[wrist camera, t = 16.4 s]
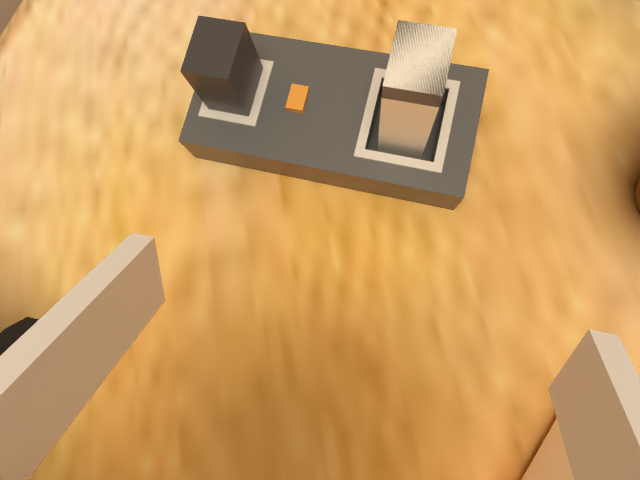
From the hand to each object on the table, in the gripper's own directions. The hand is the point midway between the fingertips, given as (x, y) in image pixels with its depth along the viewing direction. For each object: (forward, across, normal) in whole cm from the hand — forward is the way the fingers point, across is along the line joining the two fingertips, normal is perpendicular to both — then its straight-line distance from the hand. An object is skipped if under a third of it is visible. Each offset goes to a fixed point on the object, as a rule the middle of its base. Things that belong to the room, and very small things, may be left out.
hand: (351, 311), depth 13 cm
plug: (+29, +1, -5) cm, 30 cm away
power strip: (+30, -6, -5) cm, 31 cm away
